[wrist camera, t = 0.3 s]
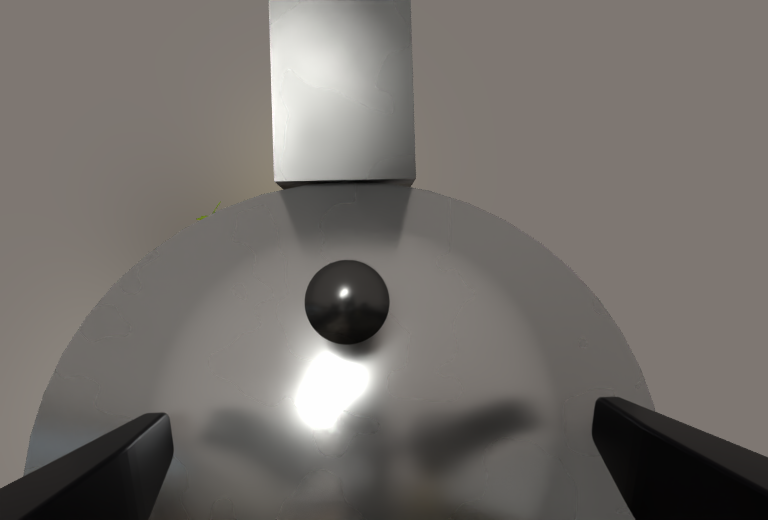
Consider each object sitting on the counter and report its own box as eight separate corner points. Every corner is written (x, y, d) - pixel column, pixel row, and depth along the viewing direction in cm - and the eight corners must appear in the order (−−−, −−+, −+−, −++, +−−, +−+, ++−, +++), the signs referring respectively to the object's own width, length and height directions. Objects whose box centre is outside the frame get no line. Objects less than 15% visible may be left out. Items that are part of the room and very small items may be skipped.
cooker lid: (645, 743, 10) (722, 873, 8) (66, 794, 10) (-22, 952, 7) (622, -17, 10) (693, -93, 8) (40, -18, 10) (-56, -101, 7)
